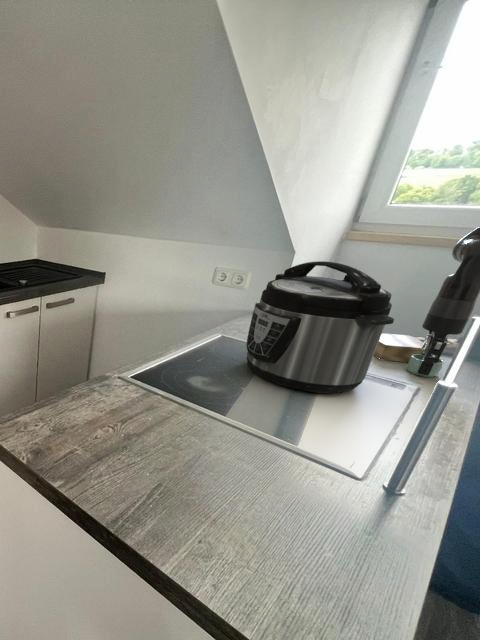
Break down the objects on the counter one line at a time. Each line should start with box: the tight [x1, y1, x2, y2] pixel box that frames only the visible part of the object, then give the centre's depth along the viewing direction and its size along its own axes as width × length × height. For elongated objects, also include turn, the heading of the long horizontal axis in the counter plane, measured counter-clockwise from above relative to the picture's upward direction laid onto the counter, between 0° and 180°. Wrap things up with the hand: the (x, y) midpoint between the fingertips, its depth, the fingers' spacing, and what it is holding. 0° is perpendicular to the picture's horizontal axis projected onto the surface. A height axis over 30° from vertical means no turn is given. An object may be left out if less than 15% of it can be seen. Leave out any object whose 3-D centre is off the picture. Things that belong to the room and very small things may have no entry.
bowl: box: [405, 354, 445, 378], centre depth 110 cm, size 6×6×4 cm
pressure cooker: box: [245, 260, 395, 394], centre depth 105 cm, size 30×28×32 cm
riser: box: [373, 332, 424, 363], centre depth 122 cm, size 12×12×5 cm
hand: (422, 369), depth 111 cm, fingers closed on bowl, 6 cm apart
